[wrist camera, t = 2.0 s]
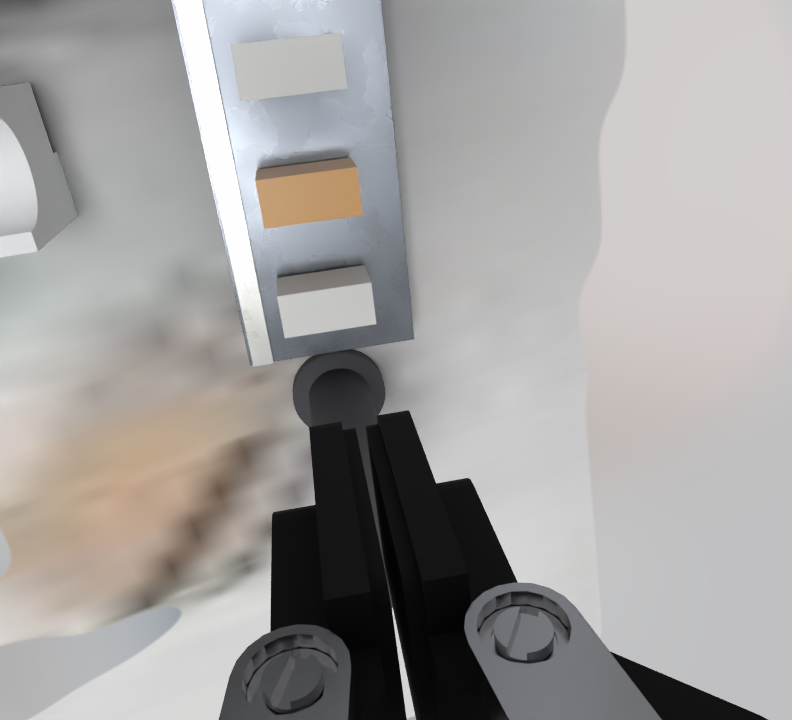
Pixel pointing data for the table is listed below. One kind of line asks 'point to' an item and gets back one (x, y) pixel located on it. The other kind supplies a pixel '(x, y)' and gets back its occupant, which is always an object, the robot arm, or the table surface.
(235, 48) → the paddle
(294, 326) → the white rectangular block
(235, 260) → the breaker panel
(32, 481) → the table surface
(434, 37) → the table surface
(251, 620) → the table surface
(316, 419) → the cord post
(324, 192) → the block
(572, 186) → the table surface
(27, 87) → the bracket
